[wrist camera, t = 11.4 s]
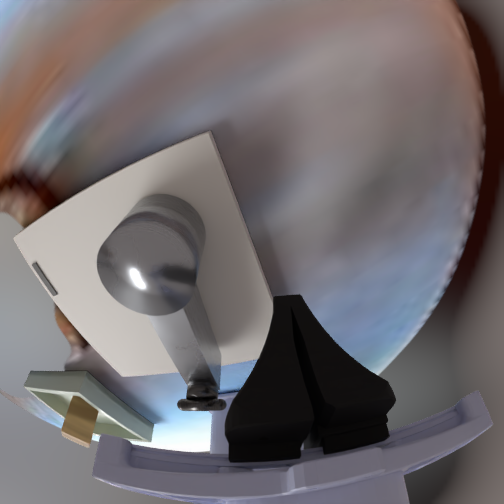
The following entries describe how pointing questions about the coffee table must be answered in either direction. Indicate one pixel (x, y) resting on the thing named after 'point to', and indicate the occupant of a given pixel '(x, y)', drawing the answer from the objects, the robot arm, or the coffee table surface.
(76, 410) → the block
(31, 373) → the tray
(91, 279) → the board
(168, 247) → the crank
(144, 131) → the coffee table surface
